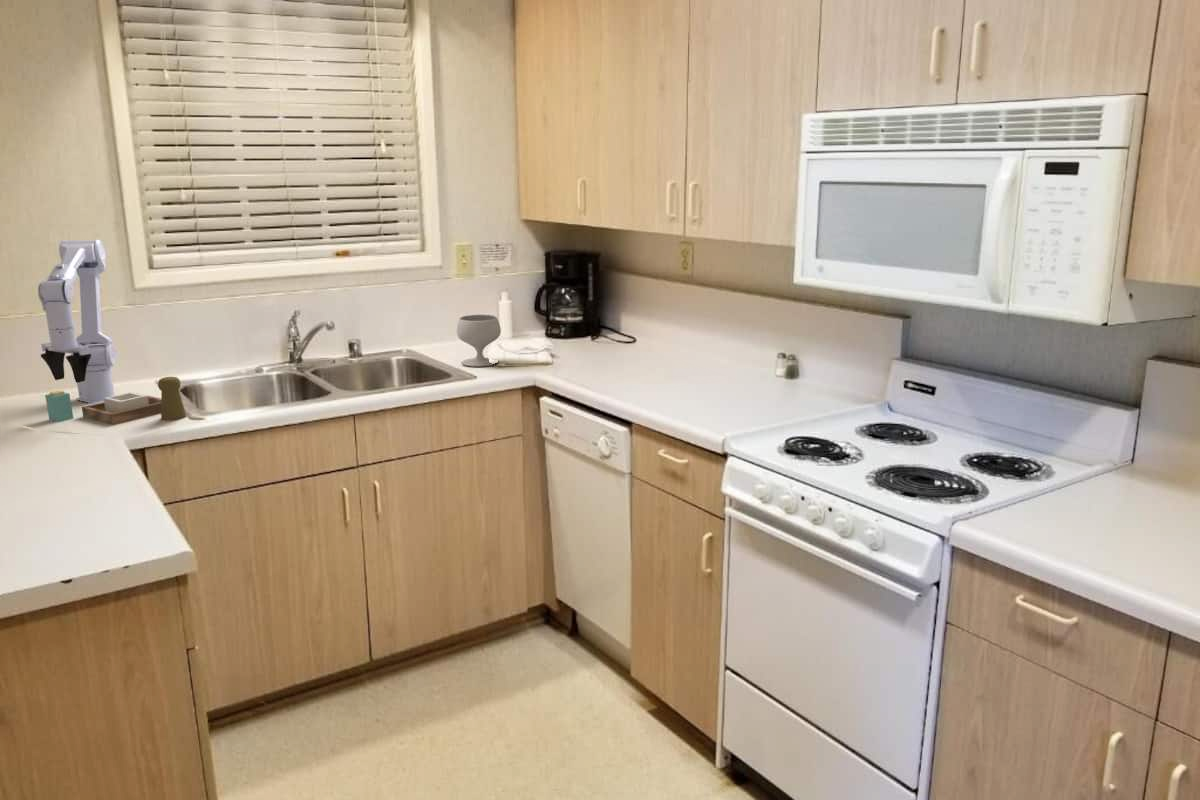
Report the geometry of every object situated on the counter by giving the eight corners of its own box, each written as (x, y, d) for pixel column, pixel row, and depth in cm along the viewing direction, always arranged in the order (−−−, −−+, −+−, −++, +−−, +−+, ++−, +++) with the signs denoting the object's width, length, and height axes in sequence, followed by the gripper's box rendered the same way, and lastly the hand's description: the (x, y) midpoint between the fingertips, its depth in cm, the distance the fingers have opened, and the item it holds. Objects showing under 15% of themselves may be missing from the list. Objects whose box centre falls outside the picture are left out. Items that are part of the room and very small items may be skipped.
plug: (49, 421, 237) (44, 392, 235) (65, 417, 240) (60, 389, 238) (57, 423, 235) (52, 394, 233) (73, 419, 238) (68, 391, 236)
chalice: (452, 361, 301) (450, 316, 297) (492, 357, 307) (490, 312, 303) (467, 370, 289) (465, 322, 285) (508, 365, 295) (506, 318, 291)
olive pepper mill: (191, 415, 240) (186, 374, 238) (178, 422, 235) (173, 380, 232) (169, 415, 241) (163, 374, 238) (156, 421, 235) (150, 380, 232)
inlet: (106, 414, 241) (103, 398, 240) (133, 408, 247) (131, 392, 246) (122, 418, 237) (119, 401, 236) (149, 412, 243) (147, 395, 242)
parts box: (83, 418, 239) (81, 407, 238) (141, 404, 252) (140, 393, 251) (113, 426, 232) (111, 414, 231) (172, 411, 245) (170, 400, 244)
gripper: (26, 328, 231) (35, 381, 235) (67, 332, 226) (75, 386, 229) (52, 324, 238) (61, 375, 241) (92, 327, 232) (100, 380, 236)
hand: (70, 380), depth 236 cm, fingers open, 7 cm apart
